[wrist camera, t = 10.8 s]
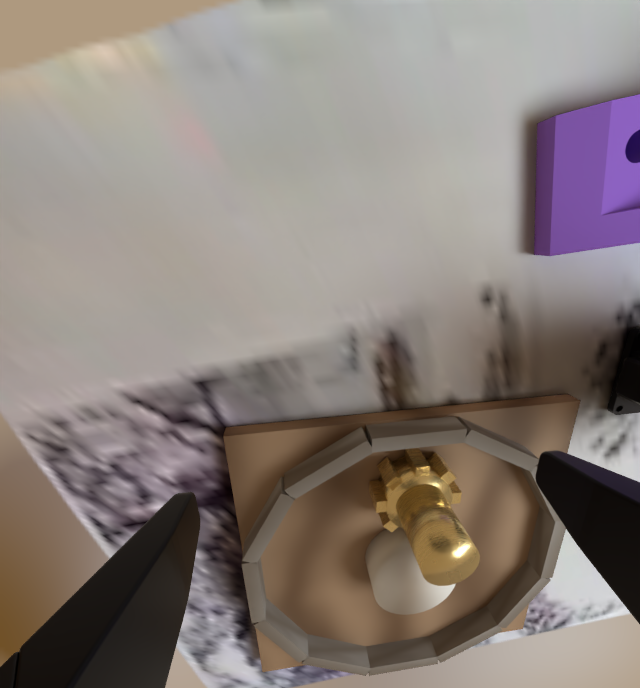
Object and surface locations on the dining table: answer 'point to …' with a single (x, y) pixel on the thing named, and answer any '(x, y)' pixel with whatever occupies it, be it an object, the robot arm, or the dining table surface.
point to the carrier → (391, 547)
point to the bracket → (588, 178)
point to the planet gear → (425, 514)
